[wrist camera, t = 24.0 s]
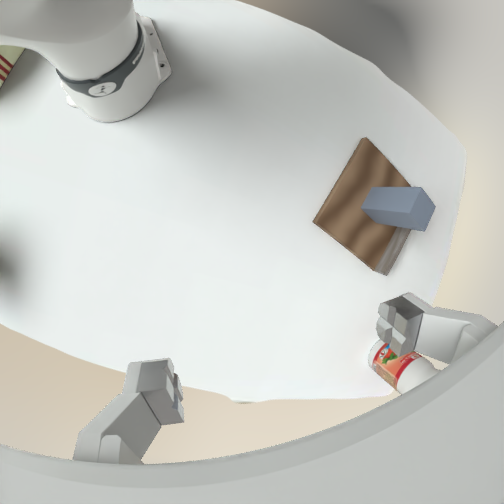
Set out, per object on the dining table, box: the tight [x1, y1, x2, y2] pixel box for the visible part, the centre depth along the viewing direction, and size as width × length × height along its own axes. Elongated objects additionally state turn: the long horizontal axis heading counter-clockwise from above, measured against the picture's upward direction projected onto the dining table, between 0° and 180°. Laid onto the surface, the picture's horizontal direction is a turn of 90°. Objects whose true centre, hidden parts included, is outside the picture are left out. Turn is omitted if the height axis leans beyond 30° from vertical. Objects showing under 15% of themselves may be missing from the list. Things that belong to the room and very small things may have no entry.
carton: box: [361, 187, 436, 232], centre depth 42 cm, size 5×5×13 cm
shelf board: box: [313, 137, 411, 276], centre depth 48 cm, size 18×20×4 cm
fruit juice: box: [368, 339, 441, 395], centre depth 45 cm, size 9×9×28 cm
